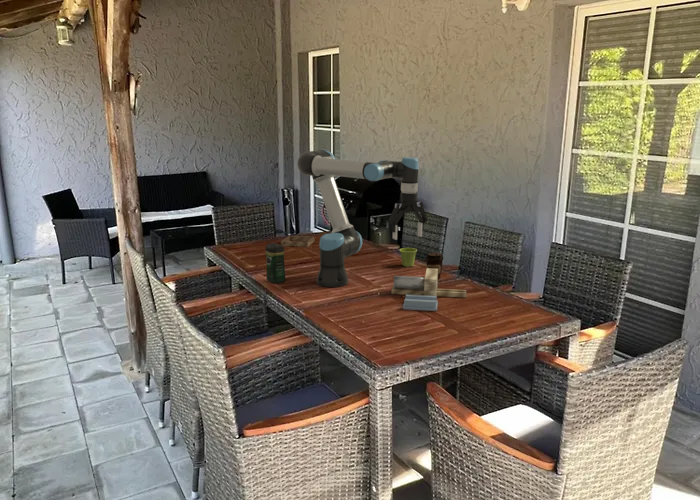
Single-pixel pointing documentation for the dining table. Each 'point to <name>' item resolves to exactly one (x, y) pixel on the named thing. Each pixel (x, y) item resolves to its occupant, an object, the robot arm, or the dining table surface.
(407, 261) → the plant pot
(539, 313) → the dining table surface
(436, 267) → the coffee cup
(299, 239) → the can corral
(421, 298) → the v block
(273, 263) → the coffee jar
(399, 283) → the axle
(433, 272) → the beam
